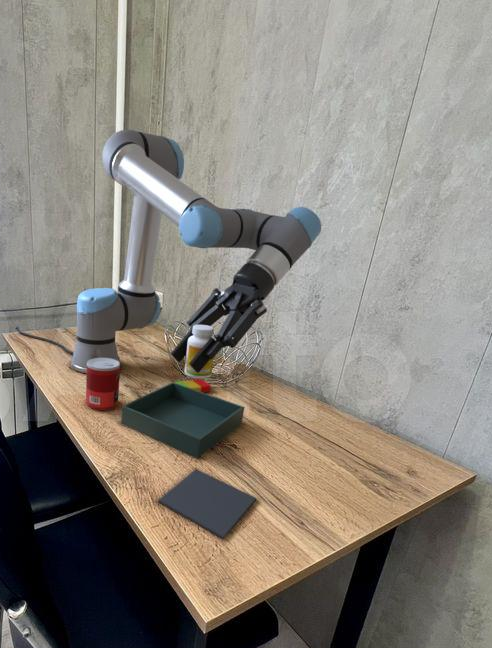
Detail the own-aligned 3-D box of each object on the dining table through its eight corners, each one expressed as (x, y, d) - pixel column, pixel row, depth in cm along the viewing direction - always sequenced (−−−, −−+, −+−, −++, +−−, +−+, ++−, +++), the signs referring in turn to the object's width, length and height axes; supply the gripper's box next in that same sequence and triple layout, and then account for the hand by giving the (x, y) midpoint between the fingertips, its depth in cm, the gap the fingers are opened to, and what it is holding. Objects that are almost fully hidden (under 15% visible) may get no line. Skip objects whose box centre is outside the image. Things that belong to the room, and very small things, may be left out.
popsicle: (211, 391, 111) (212, 385, 110) (163, 398, 105) (164, 392, 104) (201, 384, 115) (201, 378, 115) (154, 390, 109) (155, 384, 109)
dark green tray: (121, 423, 91) (122, 406, 89) (171, 397, 106) (172, 382, 104) (197, 458, 79) (200, 439, 78) (241, 423, 94) (244, 407, 93)
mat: (158, 502, 66) (158, 499, 66) (195, 471, 75) (195, 469, 75) (223, 539, 60) (223, 536, 59) (255, 500, 68) (256, 498, 68)
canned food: (121, 409, 97) (123, 367, 93) (88, 412, 95) (89, 369, 91) (114, 396, 104) (115, 356, 100) (83, 398, 102) (84, 358, 98)
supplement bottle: (215, 379, 78) (221, 331, 74) (188, 379, 77) (194, 330, 73) (206, 369, 83) (211, 323, 79) (181, 369, 82) (185, 323, 78)
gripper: (304, 296, 74) (224, 391, 72) (235, 280, 88) (167, 359, 86) (290, 267, 69) (204, 368, 67) (220, 256, 84) (148, 337, 82)
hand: (184, 362), depth 77 cm, fingers closed on supplement bottle, 5 cm apart
